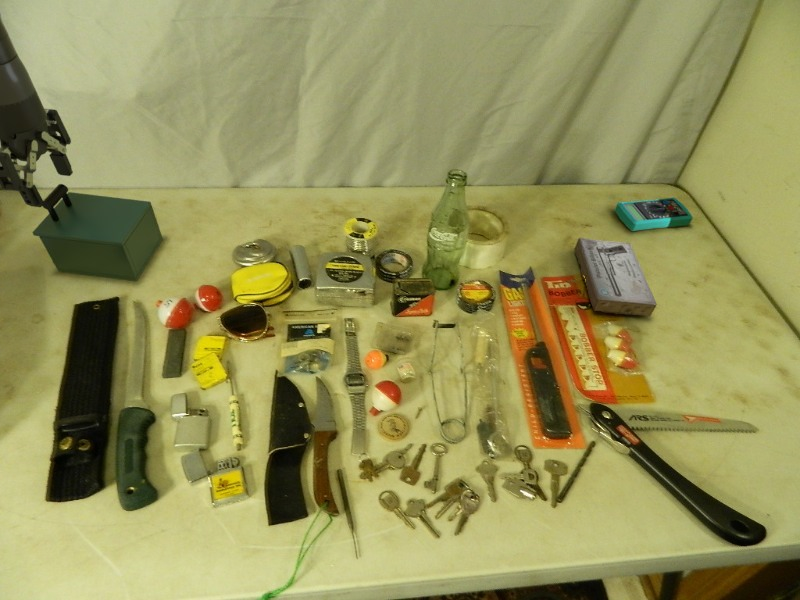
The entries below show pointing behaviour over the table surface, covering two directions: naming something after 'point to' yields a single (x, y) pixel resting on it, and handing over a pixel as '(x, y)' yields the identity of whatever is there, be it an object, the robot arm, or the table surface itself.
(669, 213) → the digital multimeter
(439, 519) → the table surface
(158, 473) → the table surface
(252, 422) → the table surface
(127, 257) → the case
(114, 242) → the lid
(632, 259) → the box
